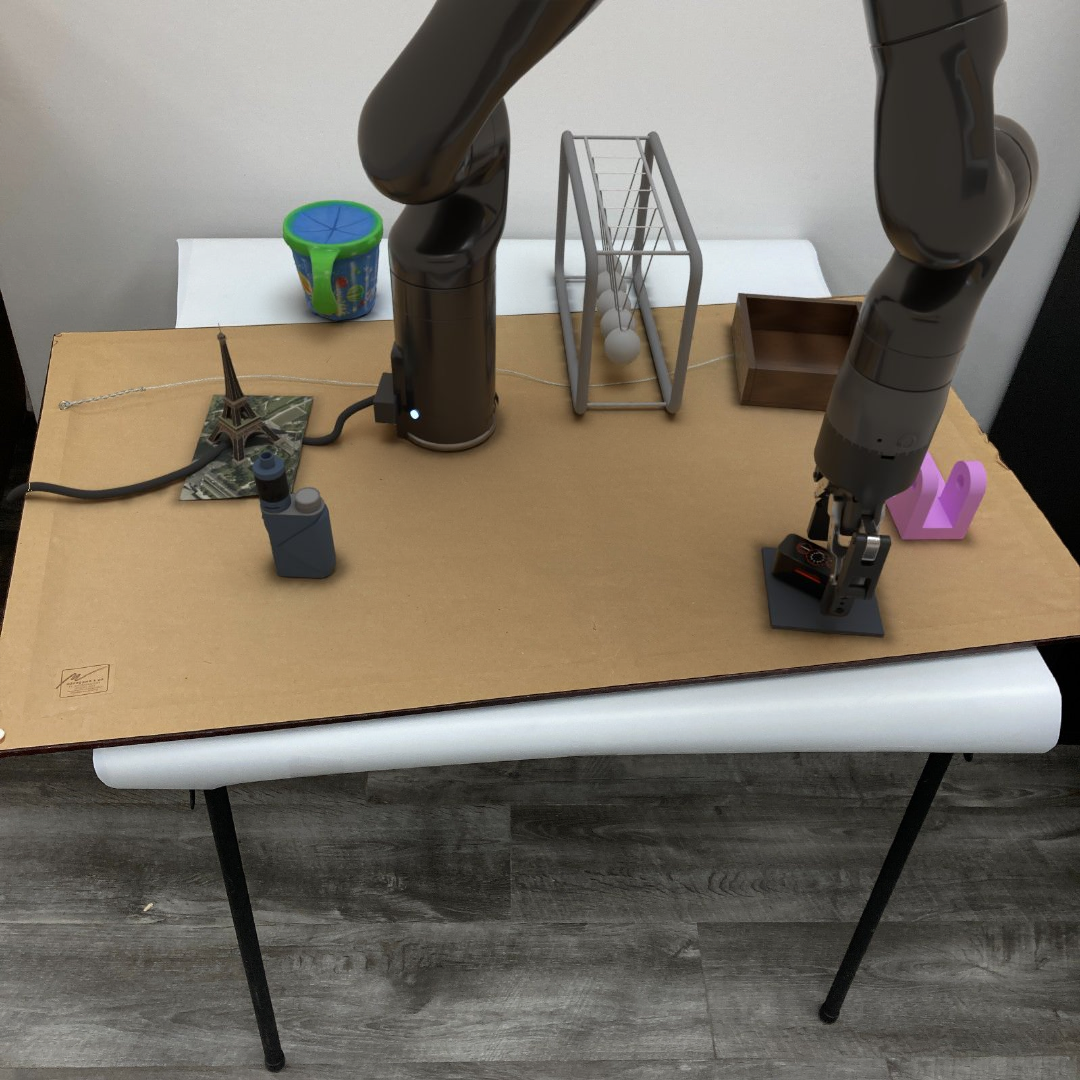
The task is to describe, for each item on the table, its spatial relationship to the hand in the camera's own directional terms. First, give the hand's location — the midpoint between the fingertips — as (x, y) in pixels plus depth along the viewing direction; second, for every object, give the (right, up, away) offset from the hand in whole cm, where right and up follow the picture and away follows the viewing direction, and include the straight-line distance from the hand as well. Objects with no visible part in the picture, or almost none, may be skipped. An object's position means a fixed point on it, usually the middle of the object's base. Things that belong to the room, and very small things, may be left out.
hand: (825, 574), depth 80 cm
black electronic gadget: (0, -1, +2) cm, 2 cm away
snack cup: (-46, +29, +31) cm, 63 cm away
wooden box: (+4, +21, +25) cm, 33 cm away
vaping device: (-43, 0, +1) cm, 43 cm away
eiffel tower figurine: (-51, +11, +12) cm, 54 cm away
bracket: (+11, +7, +11) cm, 17 cm away
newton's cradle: (-16, +25, +28) cm, 40 cm away
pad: (0, -2, +1) cm, 2 cm away
